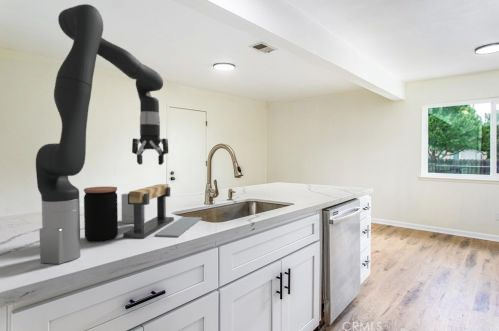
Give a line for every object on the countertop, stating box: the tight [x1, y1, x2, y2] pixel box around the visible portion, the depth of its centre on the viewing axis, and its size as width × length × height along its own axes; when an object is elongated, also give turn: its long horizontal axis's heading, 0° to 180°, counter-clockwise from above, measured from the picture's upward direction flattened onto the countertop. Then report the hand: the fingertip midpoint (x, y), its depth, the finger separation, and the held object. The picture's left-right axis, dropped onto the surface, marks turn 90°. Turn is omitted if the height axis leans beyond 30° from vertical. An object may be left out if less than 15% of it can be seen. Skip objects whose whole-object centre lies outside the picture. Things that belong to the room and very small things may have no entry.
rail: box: [128, 183, 169, 203], centre depth 120 cm, size 26×4×4 cm, turn 173°
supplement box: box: [121, 192, 146, 224], centre depth 132 cm, size 7×7×13 cm
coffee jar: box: [83, 186, 119, 243], centre depth 106 cm, size 11×11×18 cm
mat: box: [154, 216, 202, 238], centre depth 124 cm, size 30×9×1 cm, turn 173°
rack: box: [122, 186, 175, 239], centre depth 121 cm, size 28×8×16 cm, turn 173°
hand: (150, 164), depth 120 cm, fingers open, 8 cm apart
